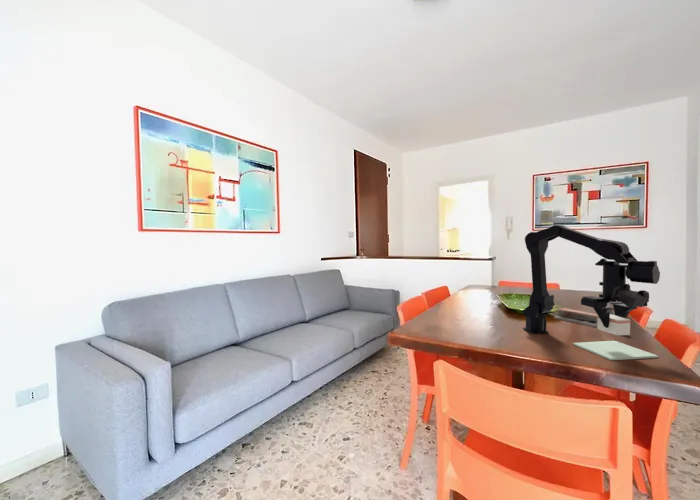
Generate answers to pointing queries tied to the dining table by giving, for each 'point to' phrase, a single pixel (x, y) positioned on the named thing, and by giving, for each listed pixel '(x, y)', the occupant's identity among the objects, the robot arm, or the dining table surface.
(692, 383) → the dining table surface
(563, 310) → the packaged product
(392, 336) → the dining table surface
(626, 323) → the white box
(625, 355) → the mat
